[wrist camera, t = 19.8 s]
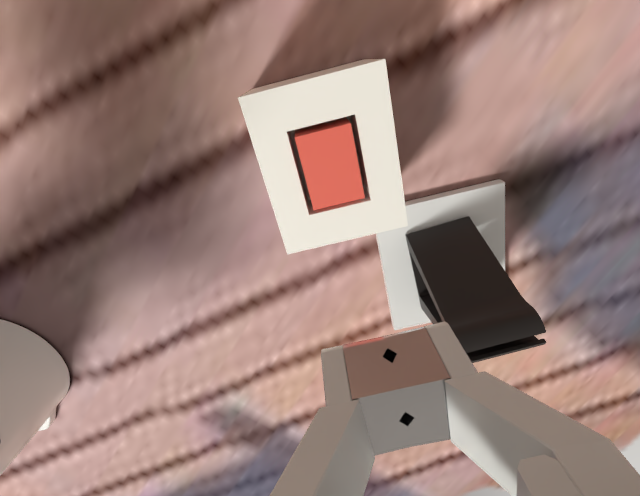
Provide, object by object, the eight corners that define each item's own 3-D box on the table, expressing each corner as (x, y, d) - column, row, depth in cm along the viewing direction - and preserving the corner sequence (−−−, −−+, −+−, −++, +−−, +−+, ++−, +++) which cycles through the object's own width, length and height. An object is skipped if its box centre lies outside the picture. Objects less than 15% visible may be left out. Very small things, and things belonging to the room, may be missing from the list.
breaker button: (312, 196, 28) (313, 210, 25) (294, 129, 26) (294, 137, 23) (358, 184, 28) (364, 197, 25) (345, 116, 25) (350, 123, 23)
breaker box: (289, 214, 34) (287, 254, 27) (252, 88, 29) (237, 97, 22) (384, 190, 34) (408, 225, 26) (363, 59, 29) (385, 58, 21)
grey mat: (392, 324, 41) (394, 330, 40) (371, 209, 34) (373, 213, 33) (500, 300, 40) (505, 305, 39) (499, 178, 34) (505, 182, 33)
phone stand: (476, 291, 38) (546, 381, 27) (420, 306, 38) (467, 401, 28) (468, 214, 34) (546, 285, 23) (404, 232, 34) (452, 310, 24)
